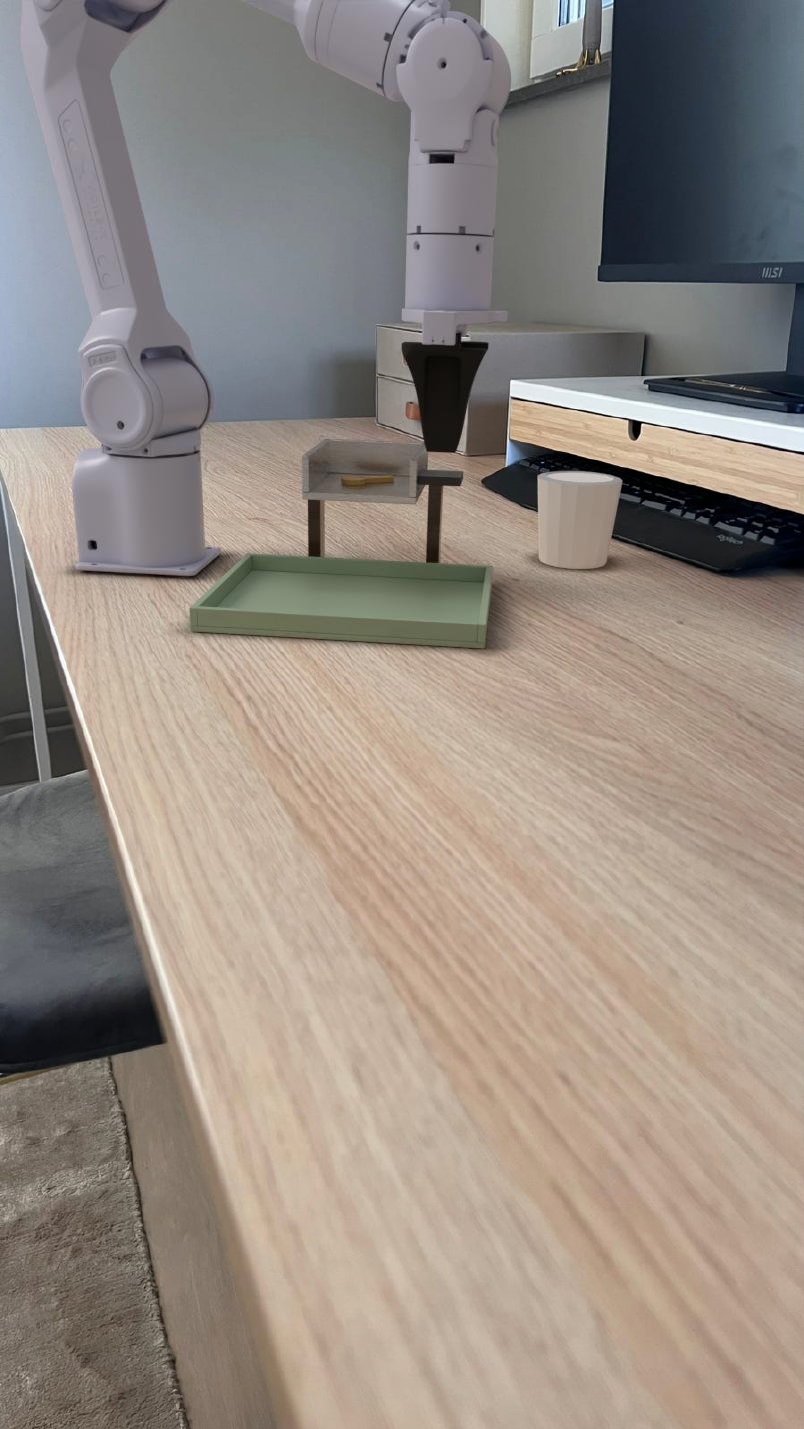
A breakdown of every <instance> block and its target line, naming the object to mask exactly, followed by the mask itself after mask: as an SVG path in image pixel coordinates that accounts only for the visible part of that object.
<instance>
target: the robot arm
mask: <svg viewBox="0 0 804 1429" xmlns="http://www.w3.org/2000/svg"><path fill="white" fill-rule="evenodd" d="M173 1H174V0H21V18H20V19H21V21H20V37H19V39H20V40H19V41H20V43H19V44H20V51H21V57H22V60H23V64H24V68H25V72H26V75H27V79H28V83H29V87H30V91H31V94H32V99H33V102H34V106H35V109H36V113H37V117H38V121H39V125H40V129H41V132H42V136H43V141H44V144H45V147H46V151H47V156H48V158H49V163H50V167H51V170H52V174H53V177H54V181H55V185H56V189H57V193H58V196H59V201H60V205H61V208H62V212H63V215H64V220H65V223H66V227H67V231H68V234H69V238H70V241H71V245H72V250H73V253H74V257H75V261H76V264H77V269H78V272H79V276H80V280H81V283H82V287H83V290H84V294H85V298H86V302H87V306H88V309H89V313H90V317H91V324H90V327H89V328H88V330H87V332H86V334H85V335H84V337H83V340H82V342H81V343H80V345H79V347H78V350H77V357H78V360H79V364H80V368H81V369H80V370H81V378H82V381H81V389H80V399H79V400H80V401H79V402H80V410H81V414H82V418H83V420H84V423H85V425H86V426H87V428H88V430H89V431H90V433H91V434H92V435H93V436H94V438H95V439H96V440H98V442H99V443H100V448H97V447H91V448H90V447H89V448H85V449H82V450H81V451H80V452H79V453H78V455H77V456H76V458H75V461H74V464H73V469H72V477H71V478H72V479H71V488H72V489H71V493H72V503H73V512H74V523H75V534H76V535H75V536H76V544H77V555H78V561H77V562H76V563H75V570H77V571H89V572H105V573H106V572H107V573H122V574H123V573H125V574H142V575H143V574H144V575H159V576H160V575H163V576H181V577H193V576H196V575H198V573H199V572H201V571H203V569H204V568H206V567H207V566H208V565H209V564H210V563H212V561H214V560H215V559H216V558H217V557H218V556H219V555H221V554H222V548H221V547H218V546H206V537H205V533H206V532H205V515H204V514H205V513H204V512H205V511H204V494H203V474H202V472H203V471H202V452H201V445H202V438H201V436H202V435H201V431H202V430H203V429H204V428H205V427H206V426H207V425H208V424H209V421H210V420H211V418H212V415H213V412H214V408H215V394H214V393H215V392H214V388H213V385H212V382H211V380H210V378H209V376H208V375H207V372H206V371H205V370H204V368H203V367H202V366H201V365H200V363H199V361H198V360H197V358H196V356H195V354H194V351H193V348H192V344H191V343H192V342H191V340H190V336H189V334H188V333H187V332H186V330H184V328H183V327H182V326H181V325H180V324H179V322H178V321H177V320H176V318H174V317H173V315H172V314H171V313H170V312H169V310H168V308H167V306H166V301H165V298H164V293H163V288H162V285H161V280H160V277H159V273H158V268H157V265H156V264H157V263H156V261H155V256H154V252H153V247H152V244H151V240H150V235H149V232H148V228H147V224H146V219H145V215H144V211H143V206H142V202H141V199H140V195H139V190H138V186H137V182H136V177H135V174H134V170H133V166H132V161H131V157H130V153H129V150H128V149H129V148H128V145H127V141H126V137H125V132H124V128H123V125H122V120H121V116H120V113H119V112H120V111H119V108H118V103H117V100H116V96H115V91H114V87H113V83H112V79H111V72H112V70H113V67H114V66H115V64H116V63H117V60H118V59H119V57H120V55H121V53H123V51H125V50H126V49H127V47H129V46H130V45H131V44H132V43H133V42H134V41H135V40H136V39H137V38H138V37H139V36H140V35H141V34H143V32H144V31H145V30H146V29H147V28H148V27H150V26H151V25H152V24H153V22H155V21H156V20H157V19H158V18H159V17H160V16H161V15H162V14H163V13H164V12H165V11H166V10H167V9H168V8H169V6H171V4H172V3H173ZM239 1H240V2H242V3H245V4H247V5H249V6H252V7H254V8H256V9H258V10H260V11H262V12H264V13H267V14H269V15H271V16H273V17H276V18H277V19H280V20H282V21H284V22H287V23H289V24H291V25H293V26H295V27H296V30H297V32H298V35H299V37H300V40H301V43H302V45H303V49H304V51H305V53H306V55H307V56H308V57H307V58H309V60H311V61H312V62H314V63H315V64H318V65H320V66H322V67H324V68H326V69H328V70H330V71H332V72H334V73H336V74H338V75H339V76H342V77H344V78H346V79H348V80H350V81H352V82H354V83H356V84H358V85H360V86H362V87H364V88H366V89H368V90H370V91H372V92H374V93H376V94H378V95H380V96H382V97H384V98H385V99H388V100H390V101H391V102H395V103H401V102H405V104H406V105H407V107H408V108H409V110H410V128H409V130H410V132H409V133H410V134H409V136H410V137H409V154H408V162H407V163H408V164H407V167H408V169H407V171H408V172H407V173H408V174H407V176H408V177H407V210H406V211H407V214H406V240H405V241H406V242H405V243H406V245H405V246H406V248H405V284H404V285H405V290H404V292H405V293H404V307H402V308H401V321H403V322H406V323H413V324H418V325H419V324H420V325H421V326H422V330H421V341H403V342H401V348H400V349H401V353H402V356H403V358H404V361H405V363H406V365H407V367H408V370H409V373H410V375H411V379H412V382H413V385H414V389H415V393H416V398H417V403H418V412H419V418H420V425H421V433H422V439H423V443H424V444H425V448H426V451H427V452H428V453H446V454H451V453H452V454H456V453H457V450H458V448H459V445H460V442H461V438H462V434H463V430H464V426H465V420H466V416H467V411H468V404H469V400H470V396H471V392H472V388H473V385H474V382H475V378H476V376H477V373H478V371H479V368H480V366H481V364H482V362H483V359H484V357H485V355H486V354H487V352H488V351H489V344H490V342H487V341H472V340H462V338H463V337H467V334H468V326H473V325H474V326H475V325H490V324H493V323H507V322H508V316H509V312H508V310H491V306H492V305H491V301H492V285H493V266H494V251H495V250H494V249H495V233H496V216H497V215H496V212H497V197H498V196H497V194H498V193H497V192H498V179H499V178H498V174H499V157H498V145H499V144H498V143H499V142H498V141H499V134H500V133H499V128H500V127H499V124H500V115H501V113H502V111H503V110H504V108H505V106H506V104H507V102H508V99H509V96H510V92H511V87H512V71H511V67H510V62H509V59H508V57H507V55H506V54H507V53H505V50H504V49H503V47H502V45H501V44H500V43H499V41H497V39H496V38H495V37H494V36H492V34H491V33H490V32H489V31H488V30H486V28H485V27H484V26H482V24H480V22H478V20H476V19H475V18H474V17H472V16H471V15H468V14H467V13H464V12H461V11H456V10H451V2H450V1H449V0H239Z"/></svg>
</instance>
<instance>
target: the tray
mask: <svg viewBox="0 0 804 1429" xmlns="http://www.w3.org/2000/svg"><path fill="white" fill-rule="evenodd" d="M493 570H494V566H493V565H482V564H466V563H465V564H463V563H445V562H440V563H426V561H425V562H423V561H407V560H406V561H404V560H403V561H402V560H387V559H386V560H384V559H367V558H347V557H345V558H344V557H330V556H329V557H327V556H325V557H310V556H308V555H292V554H291V555H289V554H287V555H286V554H272V553H271V554H270V553H269V554H268V553H251V552H250V553H249V552H247V553H245V555H244V556H242V557H241V558H240V559H239V560H238V561H237V562H236V563H235V564H234V565H233V566H232V567H231V568H230V569H229V570H227V571H226V573H225V574H223V576H221V577H220V579H218V580H217V581H216V582H215V583H214V584H213V585H212V586H211V587H209V589H207V590H206V592H204V593H203V594H202V595H201V596H200V597H199V598H197V600H196V601H195V602H193V604H192V605H190V607H189V610H188V611H189V625H190V626H189V627H190V630H189V631H190V632H197V633H211V634H229V635H230V634H231V635H245V636H247V635H248V636H265V637H282V638H298V639H315V640H329V641H330V640H332V641H349V642H363V643H364V642H366V643H380V644H381V643H383V644H398V645H399V644H401V645H414V646H415V645H418V646H432V647H451V648H467V649H468V648H469V649H483V650H484V649H485V648H486V642H487V641H486V640H487V632H488V623H489V614H490V606H491V596H492V587H493V574H494V573H493V572H494V571H493Z"/></svg>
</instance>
